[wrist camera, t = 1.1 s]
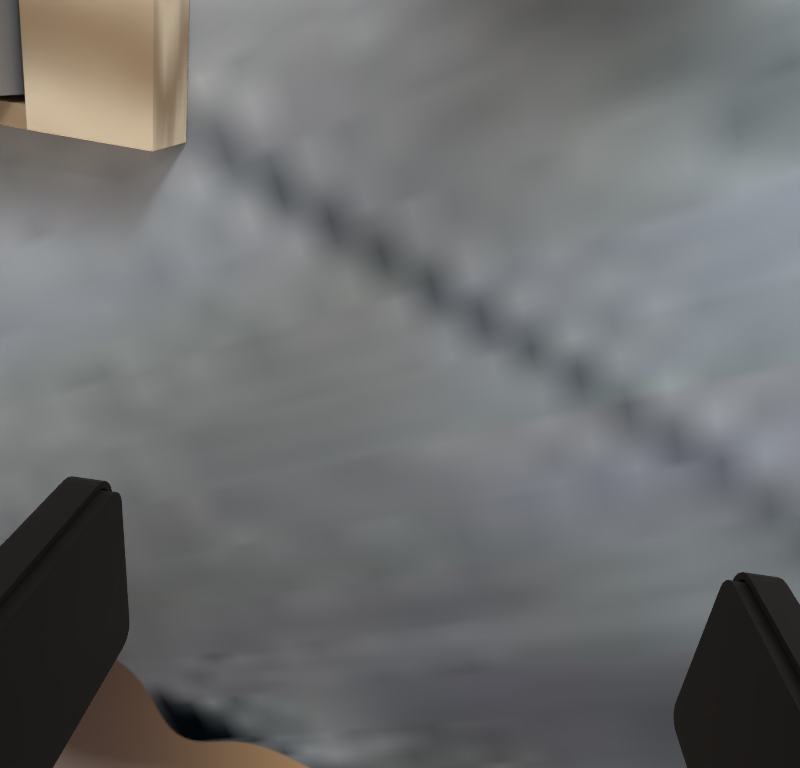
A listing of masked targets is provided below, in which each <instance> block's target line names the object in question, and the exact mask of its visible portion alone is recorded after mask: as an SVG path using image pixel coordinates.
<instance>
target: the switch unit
mask: <svg viewBox="0 0 800 768" xmlns="http://www.w3.org/2000/svg"><path fill="white" fill-rule="evenodd" d="M189 6H190V0H19V10H20V25H21V41H22V57H23V72H24V88H25V94H19V95H2V96H0V125H3V126H8V127H14V128H20V129H26V130H31V131H37V132H43V133H49V134H55V135H60V136H66V137H72V138H78V139H83V140H89V141H95V142H101V143H106V144H112V145H118V146H124V147H130V148H135V149H141V150H147V151H156V150H160V149H163V148H167V147H171V146H174V145H178V144H182V143H186V120H187V82H188V44H189Z"/></svg>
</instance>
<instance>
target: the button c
mask: <svg viewBox="0 0 800 768" xmlns="http://www.w3.org/2000/svg"><path fill="white" fill-rule="evenodd" d="M19 94H25V88H24V72H23V57H22V41H21V25H20V10H19V0H0V96H2V95H19Z"/></svg>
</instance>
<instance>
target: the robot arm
mask: <svg viewBox="0 0 800 768" xmlns="http://www.w3.org/2000/svg"><path fill="white" fill-rule="evenodd" d="M128 631H129V609H128V594H127V578H126V562H125V547H124V531H123V516H122V501H121V496H120V494H119V493H117V492H112V490H111V486H110V484H109V483H108V482H106V481H101V480H94V479H87V478H80V477H73V476H72V477H68V478H66V479H65V480H64V481H63V482H62V483H61V484H60V485H59V486H58V487H57V488H56V489H55V490H54V491H53V492H52V493H51V494H50V495H49V496H48V497H47V498H46V499H45V501H44V502H43V503H42V504H41V505H40V506H39V507H38V508H37V509H36V510H35V511H34V512H33V513H32V514H31V515H30V516H29V517H28V518H27V519H26V520H25V521H24V522H23V523H22V524H21V525H20V527H19V528H18V529H17V530H16V531H15V532H14V533H13V534H12V535H11V536H10V537H9V538H8V539H7V540H6V541H5V542H4V543H3V544H2V545H1V546H0V768H53V766H54V765H55V763H56V761H57V759H58V758H59V756H60V754H61V753H62V751H63V749H64V748H65V746H66V744H67V742H68V741H69V739H70V737H71V736H72V734H73V732H74V730H75V729H76V727H77V725H78V724H79V722H80V720H81V718H82V717H83V715H84V713H85V711H86V710H87V708H88V706H89V705H90V703H91V701H92V700H93V698H94V696H95V694H96V693H97V691H98V689H99V688H100V686H101V684H102V682H103V681H104V679H105V677H106V676H107V674H108V672H109V670H110V669H111V667H112V665H113V664H114V662H115V660H116V659H117V657H118V655H119V653H120V652H121V650H122V648H123V646H124V644H125V641H126V639H127V635H128ZM674 726H675V730H676V734H677V737H678V740H679V743H680V746H681V750H682V753H683V756H684V759H685V762H686V765H687V768H800V605H799V603H798V601H797V600H796V598H795V597H794V595H793V593H792V592H791V590H790V589H789V587H788V585H787V584H786V583H785V582H784V580H783V579H781V578H778V577H772V576H765V575H758V574H751V573H744V572H742V573H738V574H737V575H736V576H735V577H734V579H733V581H732V580H726V581H725V582H723V584H722V586H721V587H720V590H719V593H718V595H717V598H716V600H715V603H714V605H713V608H712V611H711V613H710V616H709V618H708V621H707V623H706V626H705V629H704V631H703V634H702V636H701V639H700V642H699V644H698V647H697V649H696V652H695V654H694V657H693V660H692V662H691V665H690V667H689V670H688V672H687V675H686V678H685V680H684V683H683V685H682V688H681V690H680V693H679V696H678V698H677V701H676V704H675V707H674Z"/></svg>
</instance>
